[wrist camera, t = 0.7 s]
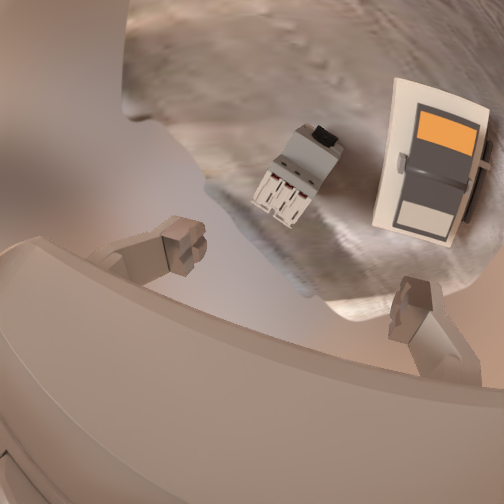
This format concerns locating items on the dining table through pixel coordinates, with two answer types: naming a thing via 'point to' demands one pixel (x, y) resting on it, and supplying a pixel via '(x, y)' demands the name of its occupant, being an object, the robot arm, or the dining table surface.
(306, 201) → the circuit breaker
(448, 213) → the block
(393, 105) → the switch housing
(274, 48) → the dining table surface
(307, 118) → the dining table surface
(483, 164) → the dark grey piece
